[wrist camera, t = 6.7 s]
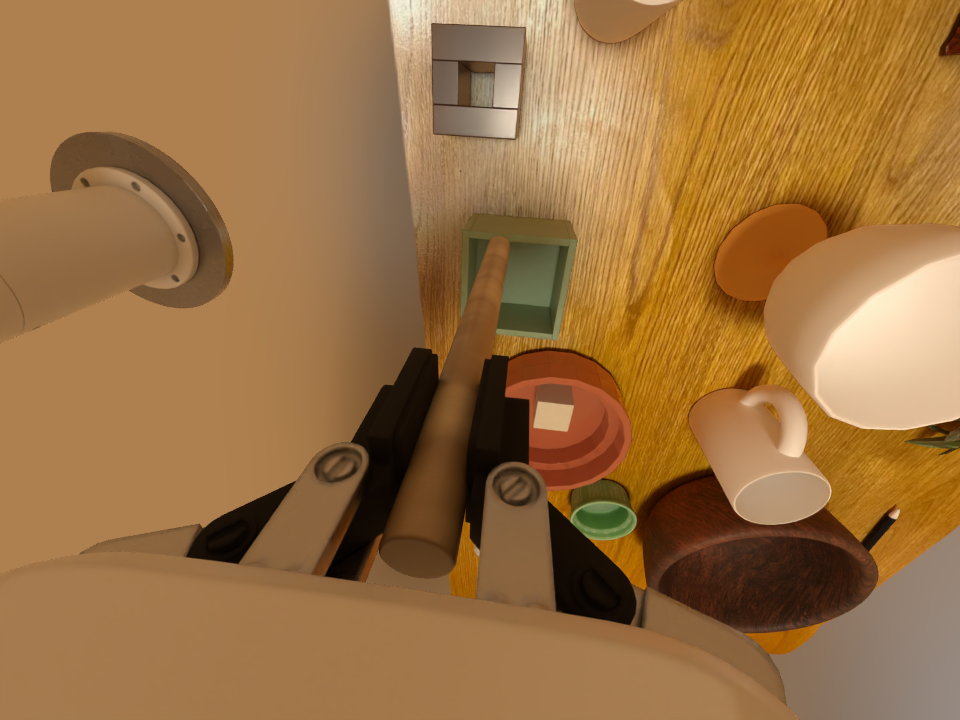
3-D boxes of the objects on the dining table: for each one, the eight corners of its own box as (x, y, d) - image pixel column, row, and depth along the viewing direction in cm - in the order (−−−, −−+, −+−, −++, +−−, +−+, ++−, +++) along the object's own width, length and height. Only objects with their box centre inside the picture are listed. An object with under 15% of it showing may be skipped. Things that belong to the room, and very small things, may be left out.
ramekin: (560, 481, 54) (562, 507, 50) (622, 470, 51) (629, 497, 47) (577, 517, 58) (580, 544, 54) (635, 508, 55) (643, 536, 51)
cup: (676, 301, 37) (767, 412, 23) (737, 174, 30) (919, 218, 16) (791, 322, 37) (956, 447, 22) (878, 198, 30) (1187, 264, 16)
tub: (469, 301, 40) (459, 330, 34) (473, 213, 35) (462, 230, 29) (554, 310, 39) (557, 340, 34) (570, 221, 34) (577, 239, 28)
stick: (486, 257, 26) (379, 573, 8) (489, 234, 25) (374, 530, 7) (509, 259, 26) (453, 585, 8) (512, 237, 25) (458, 544, 7)
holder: (448, 132, 31) (433, 134, 26) (449, 41, 28) (431, 23, 23) (518, 137, 31) (515, 139, 26) (526, 44, 28) (525, 27, 23)
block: (532, 405, 46) (532, 428, 42) (537, 380, 43) (537, 401, 40) (564, 409, 45) (567, 432, 42) (571, 383, 43) (574, 405, 40)
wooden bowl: (734, 577, 62) (767, 650, 53) (600, 534, 60) (612, 603, 51) (868, 493, 48) (941, 573, 39) (700, 433, 46) (739, 505, 37)
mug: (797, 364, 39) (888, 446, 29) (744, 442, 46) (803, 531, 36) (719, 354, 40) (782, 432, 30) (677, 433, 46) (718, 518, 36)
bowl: (476, 446, 52) (470, 480, 47) (483, 339, 42) (477, 368, 37) (601, 461, 51) (609, 499, 46) (638, 356, 41) (653, 388, 36)
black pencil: (831, 579, 59) (836, 586, 58) (892, 505, 48) (900, 512, 47) (837, 579, 58) (842, 586, 57) (900, 505, 48) (907, 513, 47)
